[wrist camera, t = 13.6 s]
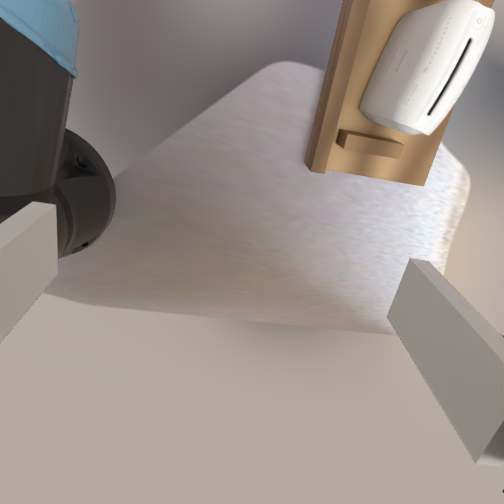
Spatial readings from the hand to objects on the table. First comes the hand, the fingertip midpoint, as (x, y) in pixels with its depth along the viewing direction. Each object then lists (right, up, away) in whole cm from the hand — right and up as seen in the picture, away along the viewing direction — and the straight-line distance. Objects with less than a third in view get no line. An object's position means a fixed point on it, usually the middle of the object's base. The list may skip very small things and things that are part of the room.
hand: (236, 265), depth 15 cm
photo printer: (+15, +19, +25) cm, 35 cm away
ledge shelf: (+15, +20, +27) cm, 36 cm away
